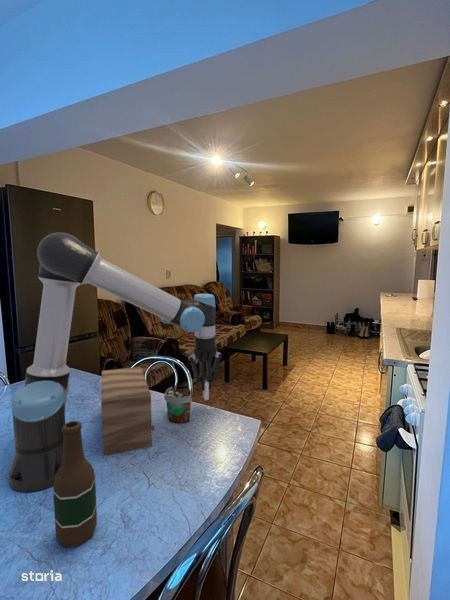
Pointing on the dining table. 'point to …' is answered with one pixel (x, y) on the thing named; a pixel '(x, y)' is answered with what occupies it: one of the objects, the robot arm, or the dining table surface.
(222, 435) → the dining table surface
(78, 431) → the beer bottle
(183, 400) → the food container
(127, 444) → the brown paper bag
